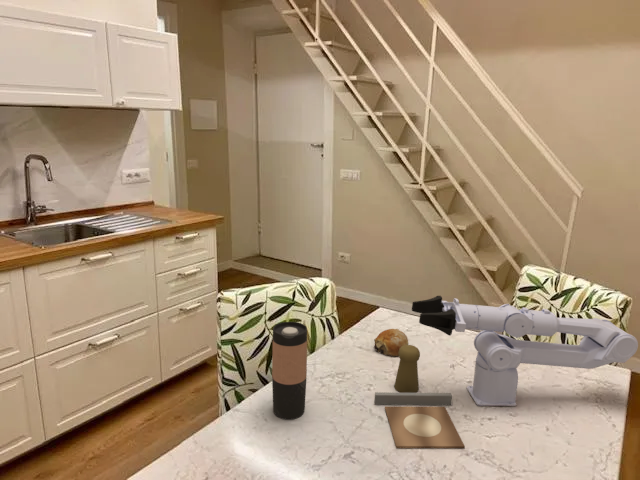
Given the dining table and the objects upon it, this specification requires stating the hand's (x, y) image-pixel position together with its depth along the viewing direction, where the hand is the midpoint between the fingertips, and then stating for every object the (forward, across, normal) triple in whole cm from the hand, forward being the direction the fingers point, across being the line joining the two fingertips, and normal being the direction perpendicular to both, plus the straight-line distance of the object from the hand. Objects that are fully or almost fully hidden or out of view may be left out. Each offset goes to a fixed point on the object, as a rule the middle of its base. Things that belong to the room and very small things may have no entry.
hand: (416, 312), depth 109 cm
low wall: (-2, +3, +22) cm, 22 cm away
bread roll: (-2, -25, +22) cm, 33 cm away
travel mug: (+27, +6, +24) cm, 37 cm away
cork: (-2, -4, +22) cm, 22 cm away
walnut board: (-2, +12, +22) cm, 25 cm away
